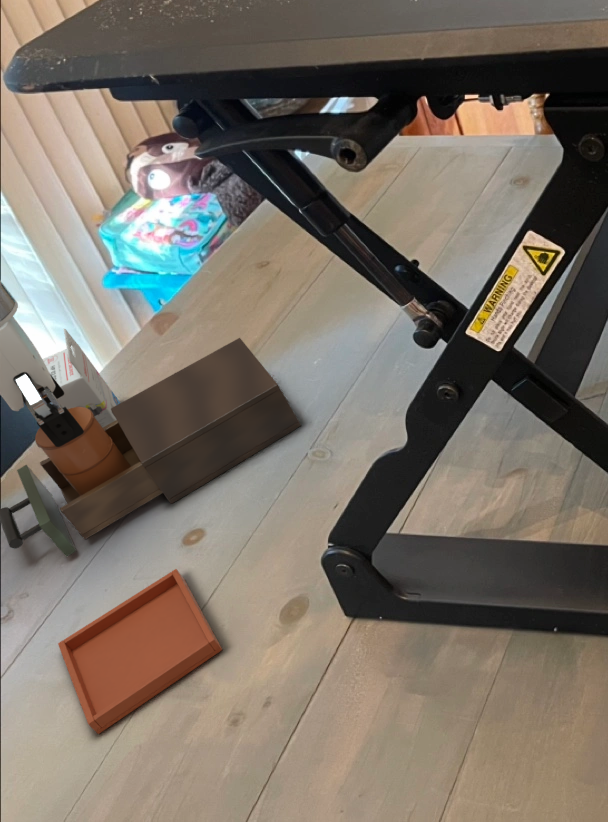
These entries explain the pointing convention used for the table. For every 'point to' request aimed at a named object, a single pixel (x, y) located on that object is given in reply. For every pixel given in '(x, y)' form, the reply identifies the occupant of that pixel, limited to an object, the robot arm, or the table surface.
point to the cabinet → (205, 419)
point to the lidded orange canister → (85, 454)
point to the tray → (137, 650)
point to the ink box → (81, 382)
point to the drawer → (81, 499)
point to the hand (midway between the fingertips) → (61, 419)
